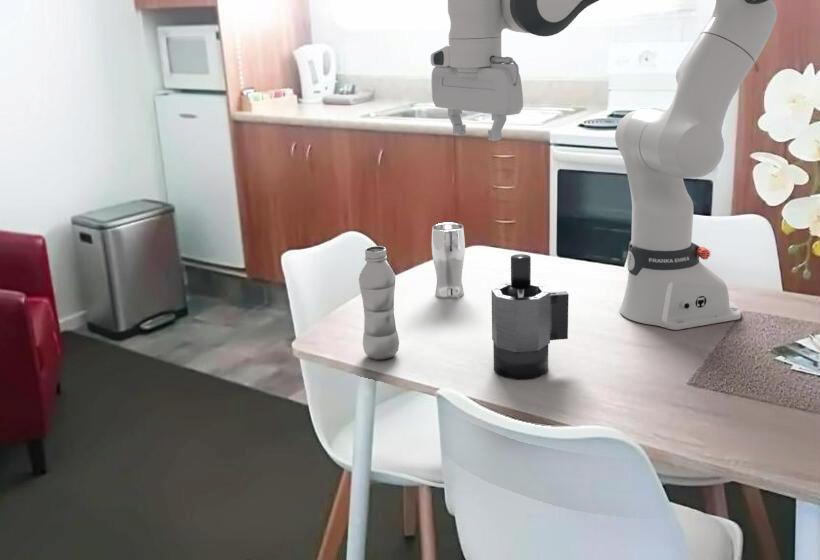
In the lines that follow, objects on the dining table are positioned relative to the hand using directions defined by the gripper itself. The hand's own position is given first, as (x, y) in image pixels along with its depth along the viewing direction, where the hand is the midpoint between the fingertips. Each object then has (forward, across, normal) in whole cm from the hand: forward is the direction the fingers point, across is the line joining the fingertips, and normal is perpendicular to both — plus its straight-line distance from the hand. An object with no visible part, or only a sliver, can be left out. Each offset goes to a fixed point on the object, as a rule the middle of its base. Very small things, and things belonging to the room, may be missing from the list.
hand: (476, 137), depth 149 cm
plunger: (+31, -16, +5) cm, 35 cm away
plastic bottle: (+37, +4, +19) cm, 42 cm away
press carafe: (+37, -17, +3) cm, 41 cm away
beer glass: (+37, +22, -10) cm, 44 cm away
